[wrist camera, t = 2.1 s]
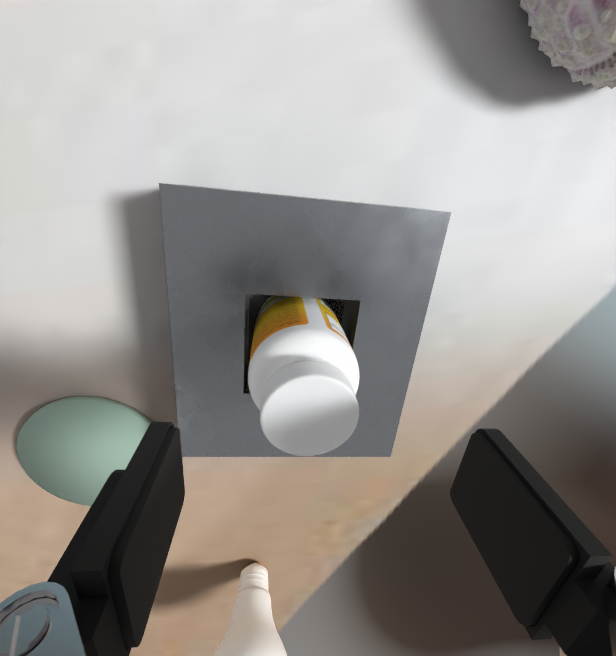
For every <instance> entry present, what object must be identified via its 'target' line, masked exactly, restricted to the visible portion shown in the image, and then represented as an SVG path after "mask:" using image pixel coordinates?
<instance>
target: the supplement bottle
mask: <svg viewBox="0 0 616 656" xmlns="http://www.w3.org/2000/svg"><path fill="white" fill-rule="evenodd" d="M248 385H249V390H250V394H251V397H252V399H253V401H254V403H255V404H256V406H257V407H258V408H259V410H260V423H261V427H262V430H263V432H264V434H265V436H266V438H267V439H268V440H269V442H270V443H271V444H273V445H274V446H275V447H276V448H278V449H280V450H282V451H284V452H286V453H289V454H292V455H297V456H314V455H320V454H324V453H327V452H329V451H332V450H334V449H335V448H337V447H339V446H340V445H342V444H343V443H344V442H345V441H346V440H347V439H348V438H349V437H350V436H351V435H352V433H353V432H354V430H355V428H356V426H357V423H358V419H359V405H358V401H357V398H356V392H357V389H358V385H359V367H358V362H357V359H356V356H355V354H354V351H353V349H352V347H351V345H350V344H349V342H348V340H347V338H346V336H345V333H344V331H343V329H342V327H341V325H340V323H339V321H338V319H337V317H336V315H335V313H334V311H333V309H332V308H331V306H330V305H329V303H328V302H327V301H326V300H325V299H324V298H310V297H293V296H277V295H273V296H271V297H270V298H269V299H268V300H267V301H266V302H265V303H264V304H263V305H262V307H261V308H260V310H259V312H258V315H257V318H256V322H255V327H254V334H253V341H252V348H251V353H250V362H249V369H248Z"/></svg>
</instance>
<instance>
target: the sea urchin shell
mask: <svg viewBox="0 0 616 656" xmlns="http://www.w3.org/2000/svg"><path fill="white" fill-rule="evenodd" d="M520 7H521V8H522V9H523V10H525V11H526V12H527V13H528V14H529V21H528V25H529V26H531V27H532V30H531V38H533V39H536V40H538V41H539V47H538V50H539V51H543V52H544V54H545V55H547V56H549V57H550V59H551V64H552V67H554V66H563V67H565V68H566V69H567V71H568V72H569V73H570V75H571V79H572V82H579V81H582V83H583V86H584V85H587V84H590V83H592V85H593V87H594V88H595V90H598V89H600V88H603V87H605V86H608V87H610V88H611V89H612V88H614V87H616V0H520Z"/></svg>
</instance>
